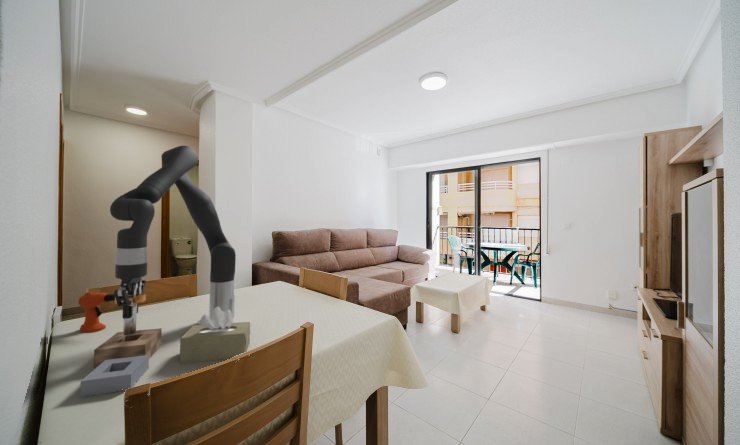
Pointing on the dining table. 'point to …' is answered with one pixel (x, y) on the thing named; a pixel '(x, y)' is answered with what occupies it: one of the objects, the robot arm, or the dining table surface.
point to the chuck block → (128, 345)
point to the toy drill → (93, 310)
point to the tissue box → (214, 338)
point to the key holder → (114, 375)
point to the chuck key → (131, 322)
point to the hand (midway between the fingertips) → (130, 315)
